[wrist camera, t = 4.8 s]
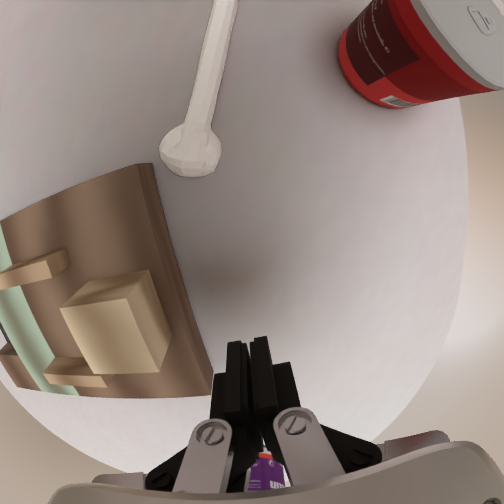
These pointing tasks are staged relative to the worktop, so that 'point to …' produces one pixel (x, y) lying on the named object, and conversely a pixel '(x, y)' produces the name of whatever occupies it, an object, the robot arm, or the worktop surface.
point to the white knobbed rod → (202, 102)
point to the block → (119, 324)
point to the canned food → (424, 50)
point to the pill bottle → (266, 473)
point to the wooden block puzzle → (88, 269)
